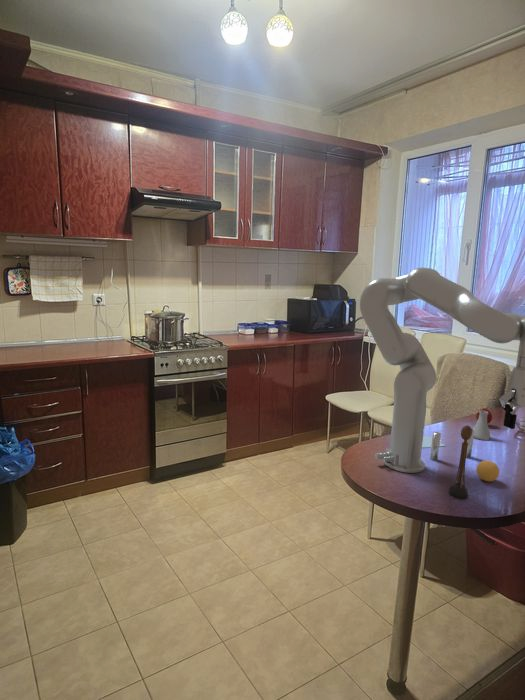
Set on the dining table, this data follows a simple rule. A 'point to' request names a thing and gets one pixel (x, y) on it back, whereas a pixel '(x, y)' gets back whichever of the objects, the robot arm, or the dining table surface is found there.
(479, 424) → the flask
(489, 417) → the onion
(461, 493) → the wooden tabletop sculpture
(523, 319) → the robot arm
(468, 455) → the right post
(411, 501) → the dining table surface
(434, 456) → the left post
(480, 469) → the ball
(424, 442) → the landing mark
